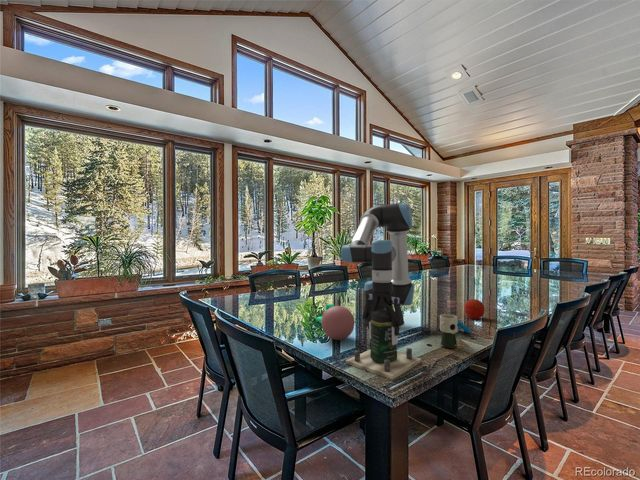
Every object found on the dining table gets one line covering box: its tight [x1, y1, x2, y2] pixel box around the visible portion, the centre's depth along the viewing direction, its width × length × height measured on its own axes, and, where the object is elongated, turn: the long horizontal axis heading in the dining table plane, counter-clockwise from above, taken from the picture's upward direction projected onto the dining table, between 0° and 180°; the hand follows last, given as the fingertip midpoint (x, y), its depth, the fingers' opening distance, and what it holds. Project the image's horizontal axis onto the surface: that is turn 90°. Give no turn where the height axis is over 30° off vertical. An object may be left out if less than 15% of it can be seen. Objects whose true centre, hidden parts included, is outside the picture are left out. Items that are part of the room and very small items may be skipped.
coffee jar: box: [370, 310, 398, 363], centre depth 118 cm, size 10×8×19 cm
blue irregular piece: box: [455, 319, 472, 335], centre depth 152 cm, size 11×6×10 cm
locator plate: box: [345, 347, 422, 380], centre depth 118 cm, size 20×20×5 cm
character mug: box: [439, 313, 459, 349], centre depth 134 cm, size 11×7×13 cm, turn 127°
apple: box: [464, 298, 485, 320], centre depth 178 cm, size 10×10×12 cm
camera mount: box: [315, 303, 335, 324], centre depth 174 cm, size 12×8×10 cm, turn 38°
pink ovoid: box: [320, 305, 355, 341], centre depth 148 cm, size 15×20×15 cm
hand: (383, 340), depth 118 cm, fingers open, 9 cm apart
